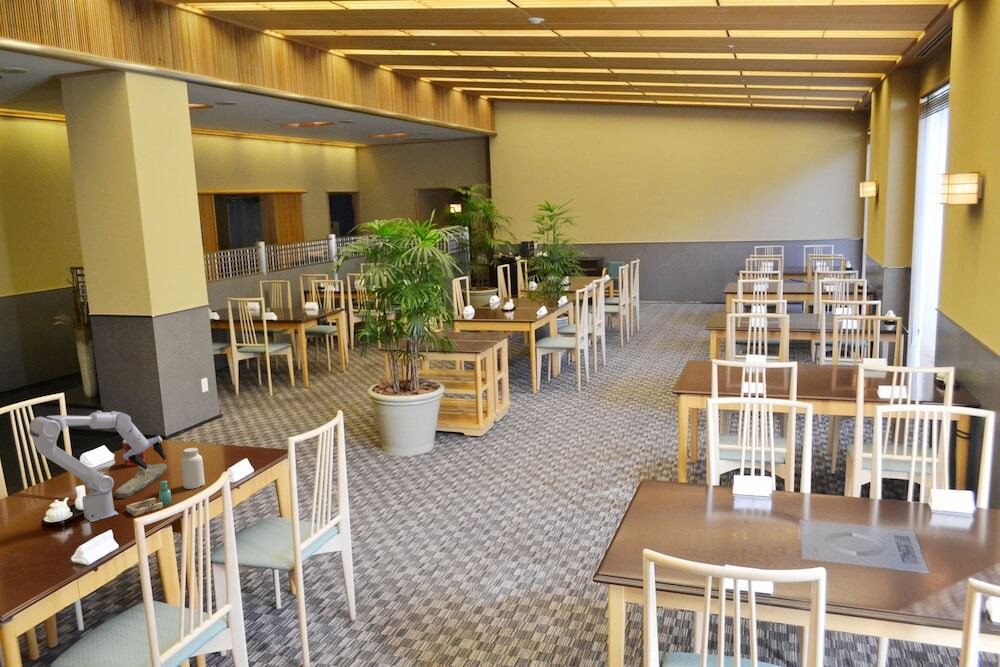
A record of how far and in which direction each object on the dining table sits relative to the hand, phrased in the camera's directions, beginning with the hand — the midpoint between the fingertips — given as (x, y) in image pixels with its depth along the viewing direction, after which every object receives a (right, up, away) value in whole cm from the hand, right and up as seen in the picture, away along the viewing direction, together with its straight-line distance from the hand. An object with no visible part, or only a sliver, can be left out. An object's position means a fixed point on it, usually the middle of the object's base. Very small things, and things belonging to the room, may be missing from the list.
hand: (155, 462), depth 295 cm
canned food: (-29, -8, +46) cm, 55 cm away
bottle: (+6, -14, -6) cm, 17 cm away
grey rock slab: (-14, -12, +19) cm, 27 cm away
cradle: (+1, -15, -10) cm, 18 cm away
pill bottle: (+10, -11, +12) cm, 20 cm away
